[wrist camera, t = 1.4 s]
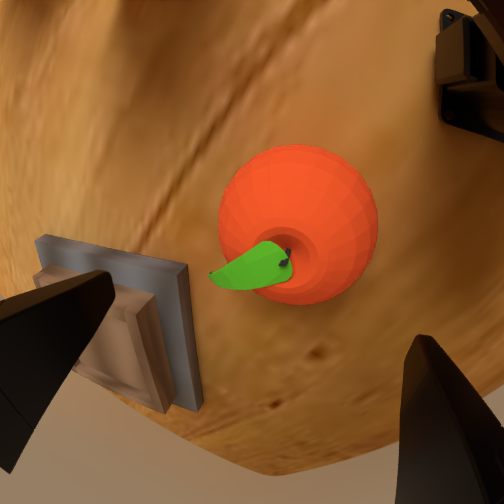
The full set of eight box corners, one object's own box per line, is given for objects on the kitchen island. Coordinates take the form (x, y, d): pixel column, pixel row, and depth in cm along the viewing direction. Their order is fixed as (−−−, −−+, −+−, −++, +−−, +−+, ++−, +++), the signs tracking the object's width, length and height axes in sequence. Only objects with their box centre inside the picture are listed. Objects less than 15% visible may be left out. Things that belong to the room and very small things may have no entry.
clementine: (270, 281, 19) (232, 363, 13) (209, 185, 17) (135, 232, 11) (391, 230, 15) (414, 308, 9) (332, 114, 14) (325, 114, 8)
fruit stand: (187, 264, 20) (156, 296, 17) (203, 401, 28) (187, 431, 24) (45, 234, 24) (15, 252, 21) (85, 354, 31) (66, 375, 28)
